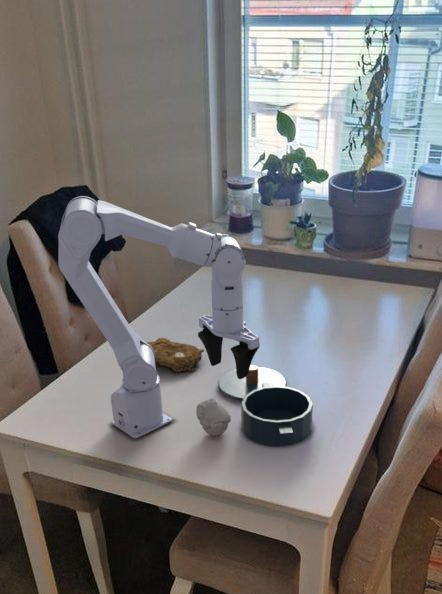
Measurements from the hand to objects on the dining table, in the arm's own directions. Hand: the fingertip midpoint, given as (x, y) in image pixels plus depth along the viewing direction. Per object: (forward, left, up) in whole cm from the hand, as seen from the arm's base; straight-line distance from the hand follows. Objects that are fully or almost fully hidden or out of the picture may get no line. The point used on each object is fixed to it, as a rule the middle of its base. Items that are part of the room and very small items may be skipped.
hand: (228, 370), depth 131 cm
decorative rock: (+6, +27, -10) cm, 29 cm away
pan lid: (+11, +5, -9) cm, 15 cm away
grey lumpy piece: (-7, -3, -10) cm, 13 cm away
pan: (+3, -10, -10) cm, 14 cm away
